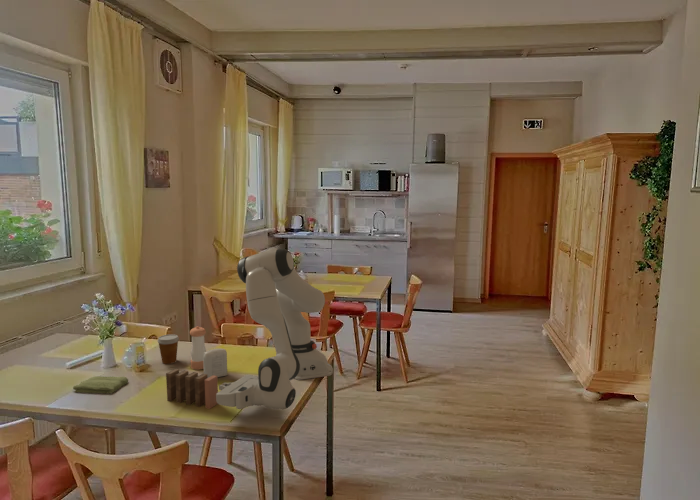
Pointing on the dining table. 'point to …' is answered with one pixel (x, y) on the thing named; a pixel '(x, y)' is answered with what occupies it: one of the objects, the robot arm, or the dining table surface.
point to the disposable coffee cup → (168, 348)
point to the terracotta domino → (211, 391)
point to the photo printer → (215, 362)
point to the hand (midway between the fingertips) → (221, 386)
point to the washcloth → (100, 384)
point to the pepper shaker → (197, 348)
